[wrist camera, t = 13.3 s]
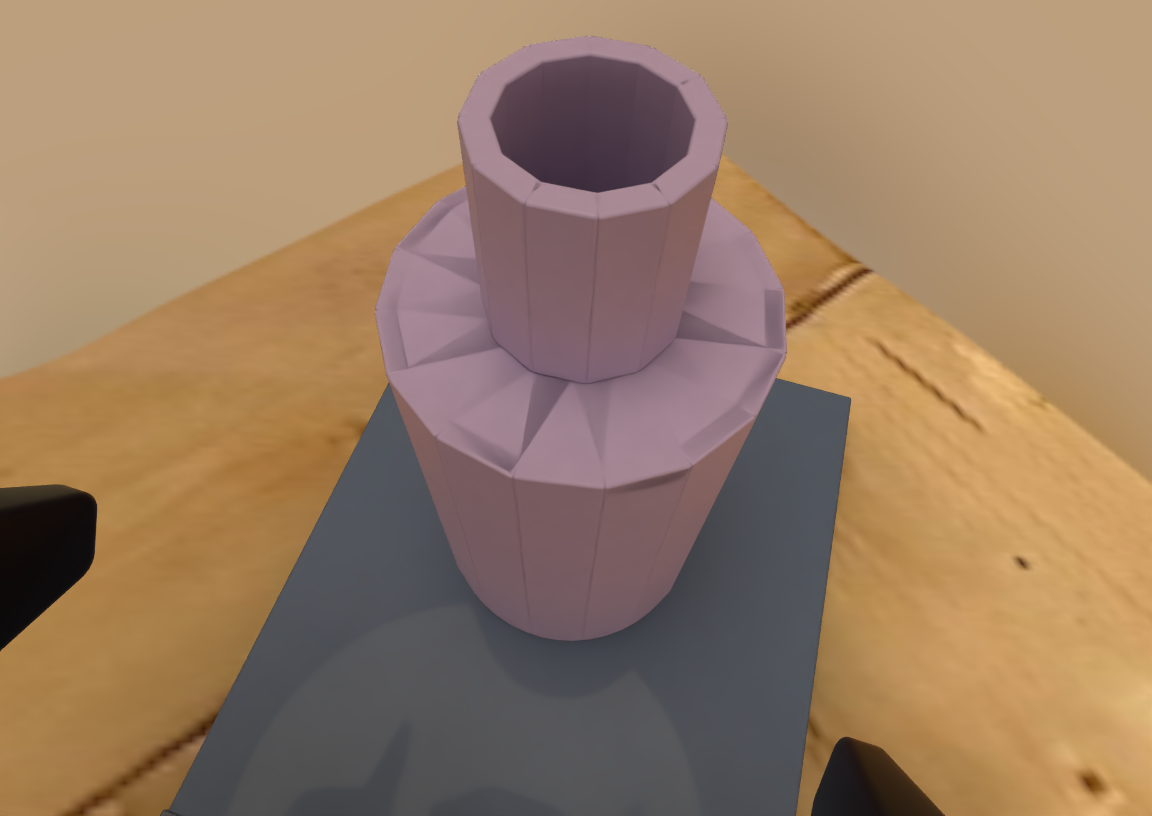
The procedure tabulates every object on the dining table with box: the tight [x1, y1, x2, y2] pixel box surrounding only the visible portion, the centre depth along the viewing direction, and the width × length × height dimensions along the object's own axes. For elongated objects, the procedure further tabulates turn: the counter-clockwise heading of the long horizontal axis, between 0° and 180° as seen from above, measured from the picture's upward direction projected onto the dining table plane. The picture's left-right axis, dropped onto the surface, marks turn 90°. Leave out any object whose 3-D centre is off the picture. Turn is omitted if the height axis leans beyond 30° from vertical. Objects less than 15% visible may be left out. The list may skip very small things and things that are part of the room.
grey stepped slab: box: [160, 378, 851, 816], centre depth 19 cm, size 20×14×2 cm
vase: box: [375, 36, 787, 641], centre depth 15 cm, size 7×7×14 cm
